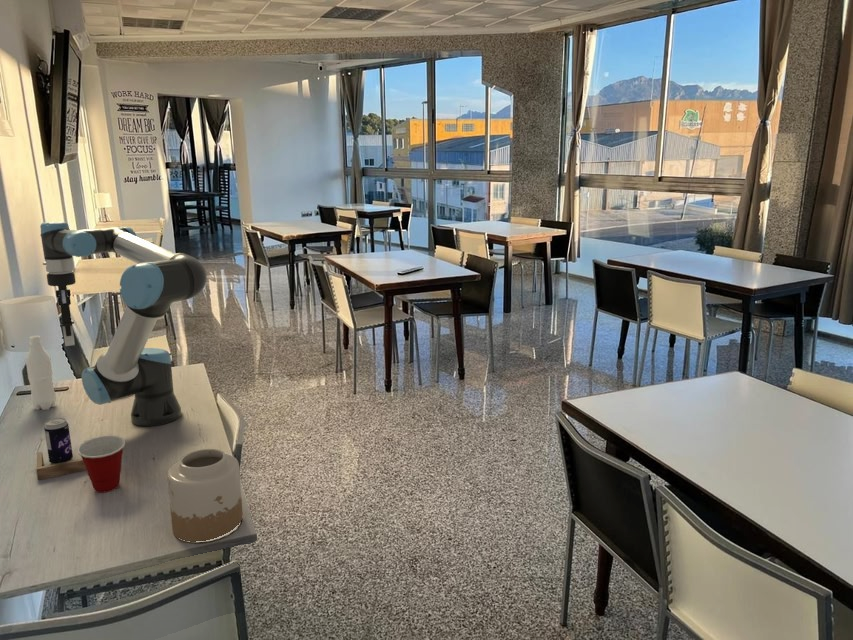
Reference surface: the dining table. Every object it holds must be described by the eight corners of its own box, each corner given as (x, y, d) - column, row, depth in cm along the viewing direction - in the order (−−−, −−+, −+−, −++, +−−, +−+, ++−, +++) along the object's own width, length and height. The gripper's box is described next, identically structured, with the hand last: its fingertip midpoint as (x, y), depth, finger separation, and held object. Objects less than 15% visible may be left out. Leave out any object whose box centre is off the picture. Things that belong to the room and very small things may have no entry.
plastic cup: (82, 502, 149) (76, 457, 146) (83, 482, 158) (77, 440, 155) (131, 492, 154) (126, 448, 151) (129, 473, 163) (124, 432, 160)
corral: (89, 452, 174) (88, 443, 174) (91, 468, 165) (90, 458, 164) (38, 462, 168) (37, 452, 167) (37, 479, 159) (36, 469, 158)
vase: (165, 519, 142) (158, 453, 138) (230, 500, 150) (226, 437, 146) (182, 552, 130) (175, 481, 126) (252, 529, 138) (248, 462, 134)
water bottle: (61, 406, 208) (51, 336, 202) (39, 413, 202) (28, 340, 196) (50, 402, 212) (40, 332, 206) (28, 408, 206) (17, 337, 200)
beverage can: (61, 467, 166) (55, 426, 163) (44, 465, 167) (38, 424, 164) (78, 458, 171) (72, 418, 168) (61, 456, 172) (55, 416, 169)
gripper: (46, 269, 192) (56, 341, 198) (46, 276, 181) (56, 351, 187) (73, 268, 196) (82, 338, 201) (75, 274, 185) (84, 348, 191)
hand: (70, 345), depth 194 cm, fingers closed
